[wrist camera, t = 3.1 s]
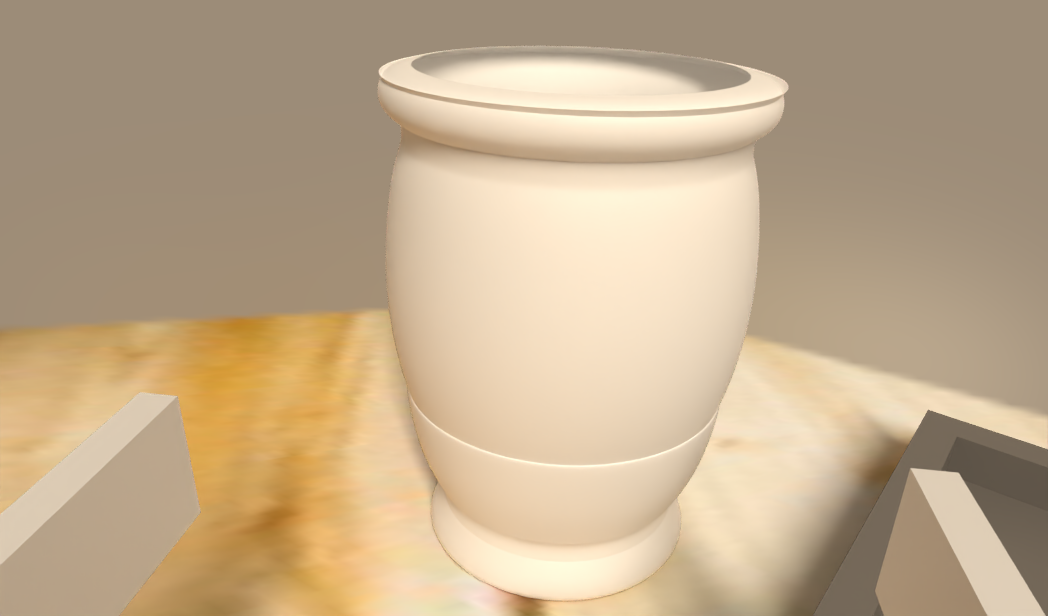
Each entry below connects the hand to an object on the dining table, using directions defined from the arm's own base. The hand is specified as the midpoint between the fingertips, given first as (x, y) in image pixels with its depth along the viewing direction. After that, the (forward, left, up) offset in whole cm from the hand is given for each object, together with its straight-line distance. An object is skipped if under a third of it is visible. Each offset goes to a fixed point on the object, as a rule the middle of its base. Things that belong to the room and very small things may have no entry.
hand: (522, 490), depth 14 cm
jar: (-5, +8, -9) cm, 13 cm away
